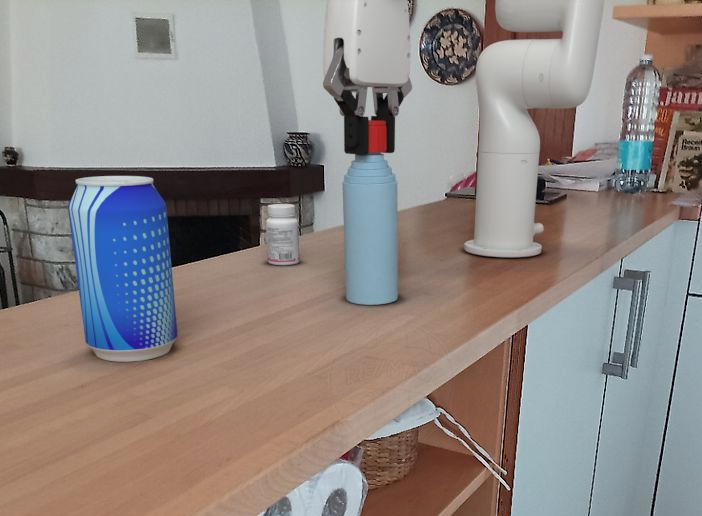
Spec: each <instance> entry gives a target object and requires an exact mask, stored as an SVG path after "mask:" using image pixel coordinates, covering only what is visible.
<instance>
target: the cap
mask: <svg viewBox="0 0 702 516" xmlns="http://www.w3.org/2000/svg"><path fill="white" fill-rule="evenodd" d="M386 149H387V128H386V121H383V120H371V119H369V152H368V153H379V152H386Z"/></svg>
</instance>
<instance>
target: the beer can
mask: <svg viewBox="0 0 702 516" xmlns="http://www.w3.org/2000/svg"><path fill="white" fill-rule="evenodd" d="M154 181H155V180H154V178H153V177H149V176H140V175H104V176H102V175H101V176H99V175H98V176H88V177H80V178H77V179H75V184H76V188H75V190H74V192H73V195H72V197H71V199H70V200H69V202H68V206H67V211H68V218H69V227H70V234H71V242H72V251H73V258H74V264H75V265H74V266H75V272H76V281H77V288H78V296H79V302H80V310H81V318H82V324H83V333H84V340H85V344H86V345H87V346H88V347H89V348H90V349H92V351H93V352H94V354H95V356H96V357H97V358H99V359H101V360H103V361H108V362H119V363H131V362H133V363H134V362H141V361H148V360H152V359H157V358H160V357H162V356H165V355H166V354H168V353H169V352H170V351H171V348H172V346H173V343H175V341H176V340H177V338H178V335H179V334H178V324H177V312H176V300H175V290H174V289H175V288H174V278H173V266H172V255H171V244H170V243H171V242H170V232H169V221H168V209H167V204H166V202H165V200H164V199H163V197H162V196H161V195H160V194H161V193H159V191H158V190H157V188H156V187H155V185H154Z"/></svg>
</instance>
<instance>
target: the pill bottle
mask: <svg viewBox="0 0 702 516" xmlns="http://www.w3.org/2000/svg"><path fill="white" fill-rule="evenodd" d="M296 213H297V211H296V205H295V204H291V203H273V204H268V205H267V216H268V218H267V219H266V220H265V221H266V222H265V233H266V234H265V235H266V252H267V253H266V254H267V263H269V265H274V266H292V265H297V264H298V263H300V260H301V259H300V238H299V237H300V236H299V220H298V219H297V218H296V217H295V216H296Z"/></svg>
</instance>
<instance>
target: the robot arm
mask: <svg viewBox="0 0 702 516" xmlns="http://www.w3.org/2000/svg"><path fill="white" fill-rule="evenodd" d="M494 4H495V5H494V12H495V18H496V22H497V23H498V25H499V26H500V28H502V29H504V30H506V31H508V32H513V33H547V32H548V33H549V32H552V33H553V32H562V36H561V38H543V39H541V38H539V39H538V38H530V39H529V38H528V39H527V38H526V39H523V38H522V39H505V40H501V41H500V40H499V41H497V42H493V43H491V44H489V45H488V46H486V47H485V48H484V49H483V50H482V51H481V53H480V54H479V56H478V58H477V61H476V66H475V85H476V93H477V94H476V95H477V102H478V103H477V104H478V115H479V116H478V117H479V123H478V124H479V127H478V128H479V129H478V130H479V131H478V134H479V135H478V150H477V151H478V154H477V171H476V190H475V210H474V211H475V213H474V234H473V239H470V240H467V241H465V242H464V244H463V250H464V251H465V252H466V253H469V254H471V255H476V256H483V257H488V258H489V257H490V258H491V257H492V258H508V259H509V258H511V259H512V258H528V257H534V256H539V255H541V253H542V249H543V246H542V244H540V243H538V242H537V241H534V236H538V235H541V234H543V232H544V230H545V228H544V225H543V223H541V222H535V214H536V201H537V187H538V177H539V176H538V175H539V163H540V162H539V161H540V152H541V137H540V134H539V131H538V128H537V126H536V124H535V122H534V121H533V119H532V117H531V115H530V114H529V111H528V110H530V109H531V110H532V109H573V108H577V107H579V106H581V105H582V104H584V102H585V101H586V99H587V98H588V96H589V93H590V91H591V88H592V83H593V78H594V73H595V66H596V59H597V54H598V46H599V41H600V34H601V28H602V27H601V26H602V20H603V13H604V5H605V0H495V3H494ZM409 13H410V12H409V3H408V0H327V2H326V7H325V18H324V28H323V51H322V53H323V55H322V56H323V57H322V58H323V59H322V61H323V62H322V64H323V65H322V68H323V69H322V70H323V82H322V87H323V89H324V90H325V91H326V92H327V93H328V94H329V95H330V96H331V97H333V100H334V101H335V103H336V104H337V107H338V108H339V115H340V116H341V117H343V146H344V147H343V148H344V149H343V151H344V153H345V154H348V155H355V154H359V155H366V154H368V152H369V120H383V121H386V128H387V149H386V152H381V154H394V153H395V150H396V117H397V116H398V115H399V113H400V106H401V105H402V103H403V102H404V99H405V98H406V97H407V96H408V95H409V94H410V92H411V91H412V90H413V84H412V81H411V78H410V72H411V27H410V14H409ZM368 88H371V90H372V91H371V92H372V101H373V102H372V103H373V109H374V110H373V111H374V115H370V118H369V116H364V115H365V112H366V104H367V97H368V96H367V95H368ZM353 93H355V96H354V95H353ZM384 94H386V95H385V96H384Z"/></svg>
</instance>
